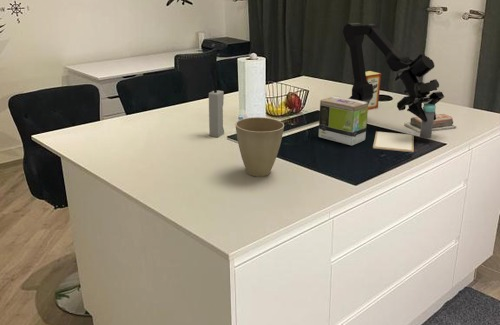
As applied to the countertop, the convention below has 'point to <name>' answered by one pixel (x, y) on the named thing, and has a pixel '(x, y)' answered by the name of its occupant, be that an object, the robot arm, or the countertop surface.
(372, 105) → the baking soda box
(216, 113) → the vintage mobile phone
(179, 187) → the countertop surface
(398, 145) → the notepad
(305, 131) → the countertop surface
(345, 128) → the tea box
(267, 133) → the plant pot
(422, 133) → the gray bottle teal cap
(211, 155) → the countertop surface
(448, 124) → the packaged product
